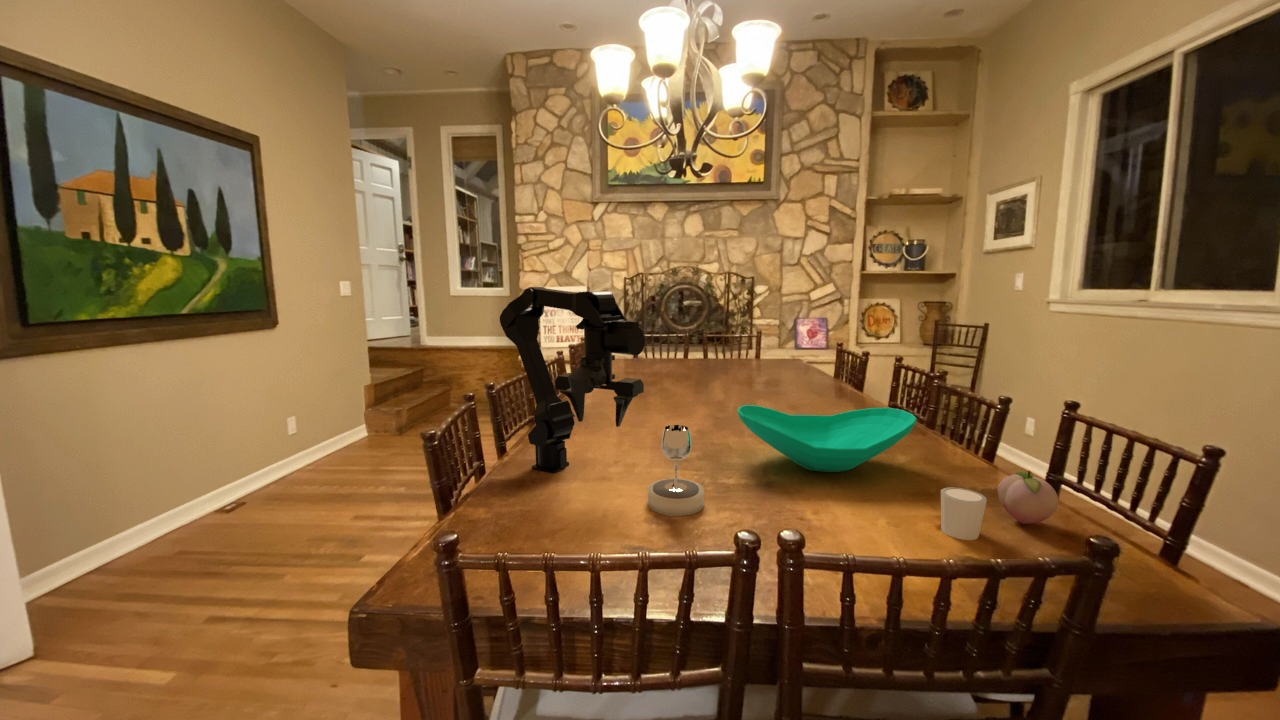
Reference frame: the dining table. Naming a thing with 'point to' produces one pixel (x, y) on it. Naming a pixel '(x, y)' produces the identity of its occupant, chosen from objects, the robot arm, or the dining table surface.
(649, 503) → the disc
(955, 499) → the white cup
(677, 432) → the wineglass
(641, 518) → the dining table surface
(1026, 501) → the decorative fruit
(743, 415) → the table top decor
